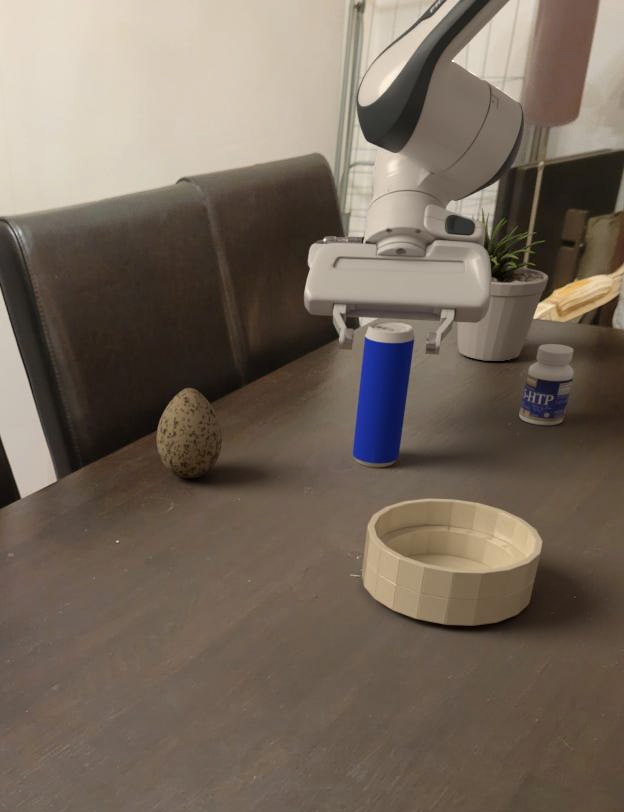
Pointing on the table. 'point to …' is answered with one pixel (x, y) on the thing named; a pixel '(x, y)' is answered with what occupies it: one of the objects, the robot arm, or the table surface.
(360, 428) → the beverage can
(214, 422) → the decorative egg
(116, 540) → the table surface
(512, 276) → the potted plant
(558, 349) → the pill bottle
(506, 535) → the bowl
